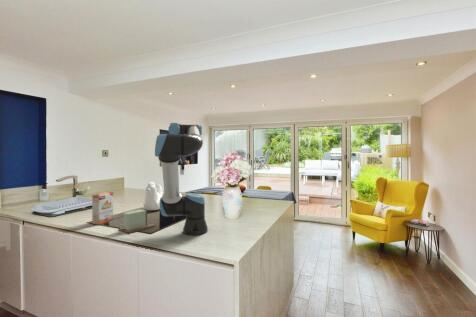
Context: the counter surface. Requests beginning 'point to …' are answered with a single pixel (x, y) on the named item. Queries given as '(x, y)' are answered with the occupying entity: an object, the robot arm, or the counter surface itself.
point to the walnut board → (137, 228)
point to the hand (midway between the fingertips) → (175, 174)
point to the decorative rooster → (153, 196)
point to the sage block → (134, 219)
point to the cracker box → (102, 207)
